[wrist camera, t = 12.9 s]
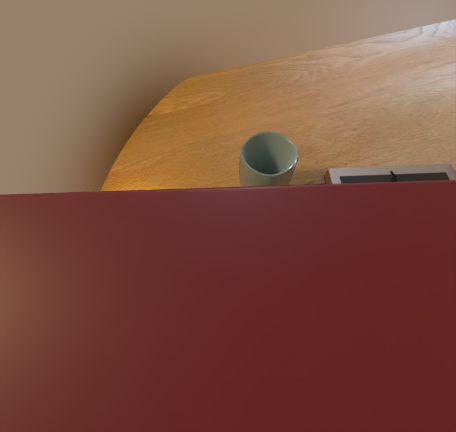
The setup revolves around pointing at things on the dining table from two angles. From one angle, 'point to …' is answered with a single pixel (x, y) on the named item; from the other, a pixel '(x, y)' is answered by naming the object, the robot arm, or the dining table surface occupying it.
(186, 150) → the dining table surface
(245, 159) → the cup
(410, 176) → the picture frame
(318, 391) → the book
